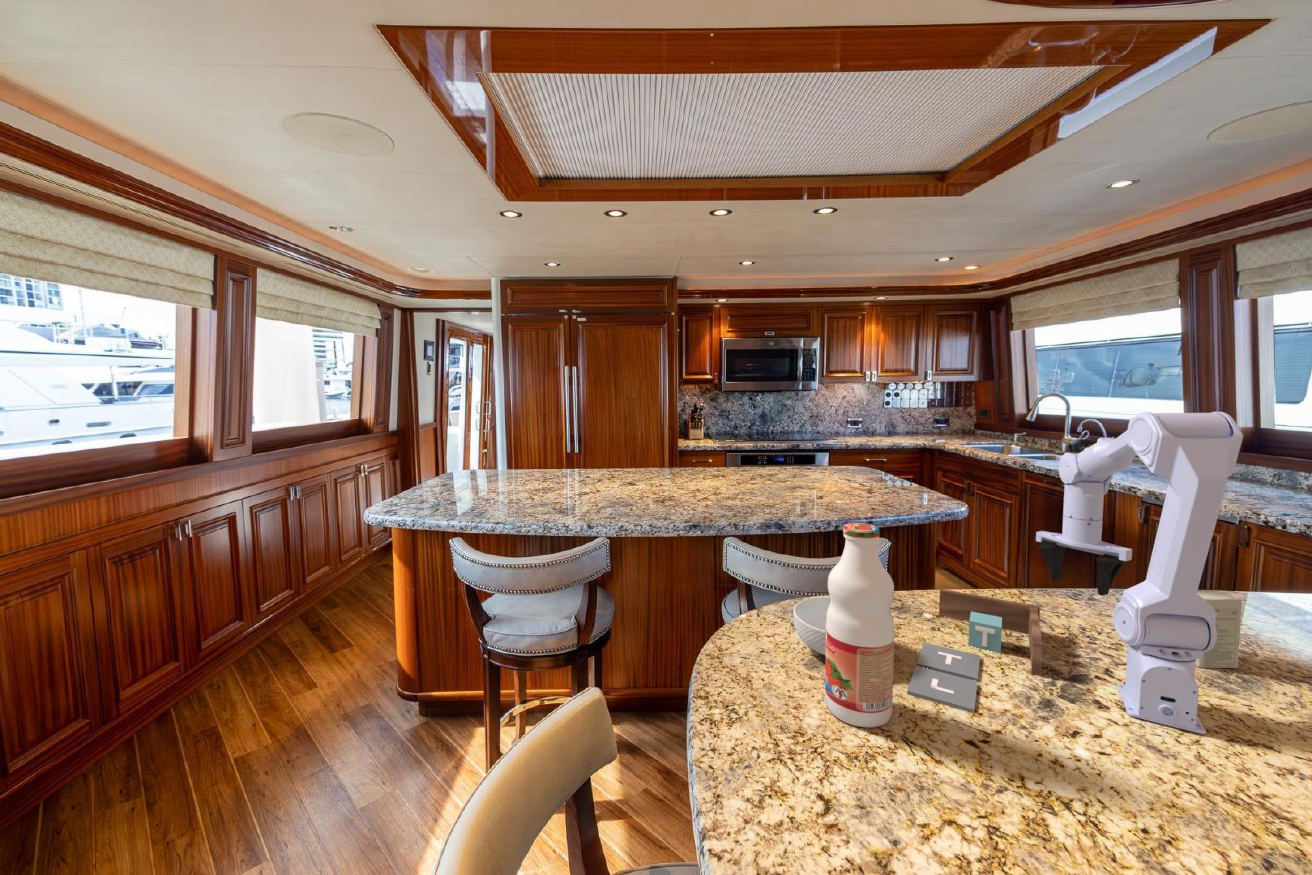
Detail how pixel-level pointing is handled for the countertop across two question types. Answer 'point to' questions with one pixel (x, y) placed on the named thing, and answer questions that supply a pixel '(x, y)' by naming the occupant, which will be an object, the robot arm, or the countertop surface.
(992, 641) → the light blue cube
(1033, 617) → the walnut screen
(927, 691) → the tile
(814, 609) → the cereal bowl
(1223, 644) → the skincare box
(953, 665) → the tile
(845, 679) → the fruit juice
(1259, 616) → the countertop surface
